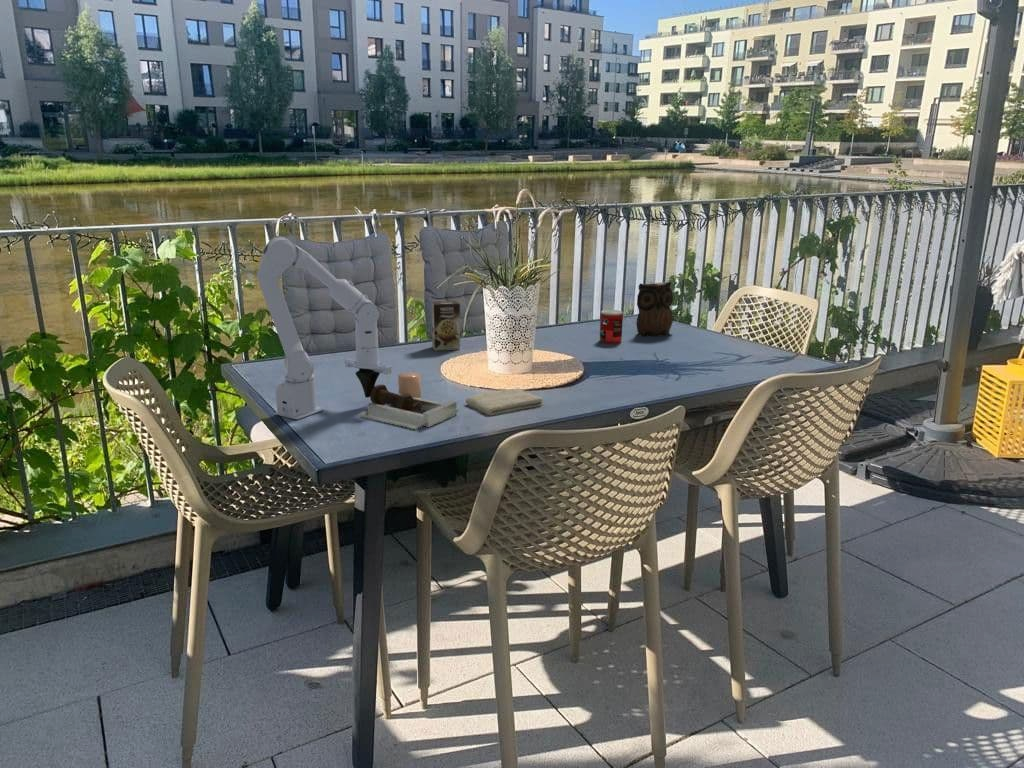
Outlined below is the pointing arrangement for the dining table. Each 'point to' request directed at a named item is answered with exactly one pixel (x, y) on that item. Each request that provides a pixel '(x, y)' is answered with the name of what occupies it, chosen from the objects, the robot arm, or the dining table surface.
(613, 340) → the canned food
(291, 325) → the robot arm
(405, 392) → the tan rounded block
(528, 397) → the washcloth
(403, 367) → the dining table surface
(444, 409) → the bracket
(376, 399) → the bolt
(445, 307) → the cookie box
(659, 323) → the owl
